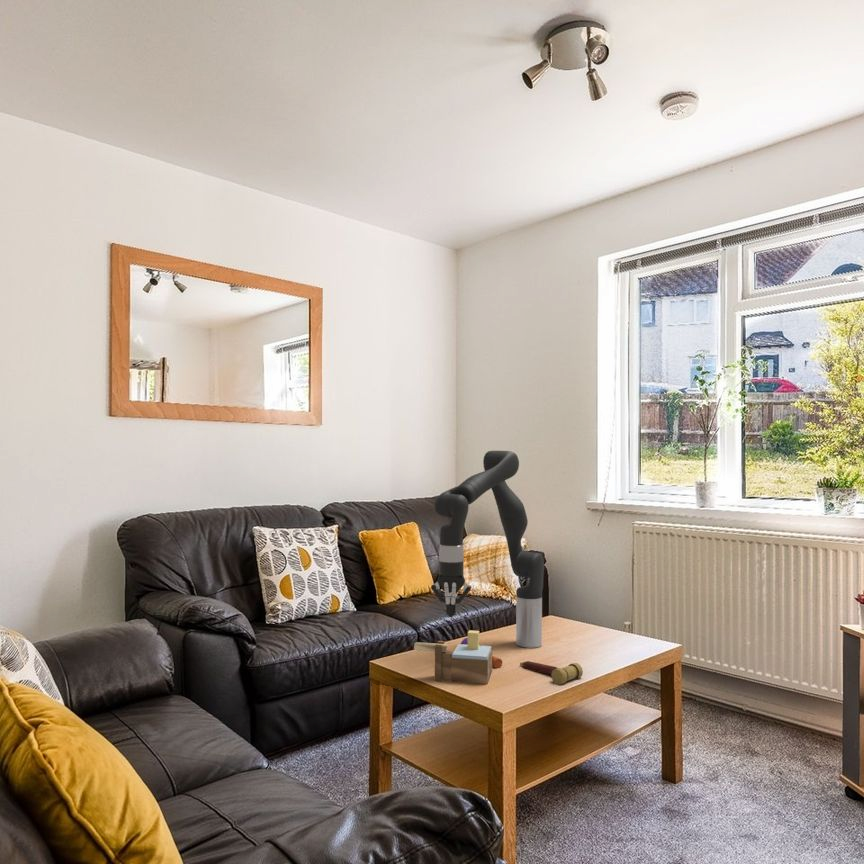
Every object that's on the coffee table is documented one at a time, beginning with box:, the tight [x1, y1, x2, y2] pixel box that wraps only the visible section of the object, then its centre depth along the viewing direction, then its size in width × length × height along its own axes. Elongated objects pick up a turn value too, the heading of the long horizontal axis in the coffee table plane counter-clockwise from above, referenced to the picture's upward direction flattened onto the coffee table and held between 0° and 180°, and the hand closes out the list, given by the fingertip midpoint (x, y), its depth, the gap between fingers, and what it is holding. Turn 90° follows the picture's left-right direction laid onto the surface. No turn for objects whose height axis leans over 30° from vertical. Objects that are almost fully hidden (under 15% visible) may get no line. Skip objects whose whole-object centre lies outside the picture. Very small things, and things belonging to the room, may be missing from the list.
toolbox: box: [434, 640, 493, 685], centre depth 208 cm, size 12×16×11 cm
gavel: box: [519, 660, 584, 685], centre depth 211 cm, size 21×5×10 cm
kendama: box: [460, 637, 503, 669], centre depth 225 cm, size 6×6×20 cm
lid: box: [452, 629, 492, 660], centre depth 208 cm, size 12×11×7 cm
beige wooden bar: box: [413, 641, 449, 653], centre depth 206 cm, size 2×10×2 cm, turn 78°
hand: (451, 616), depth 205 cm, fingers closed
